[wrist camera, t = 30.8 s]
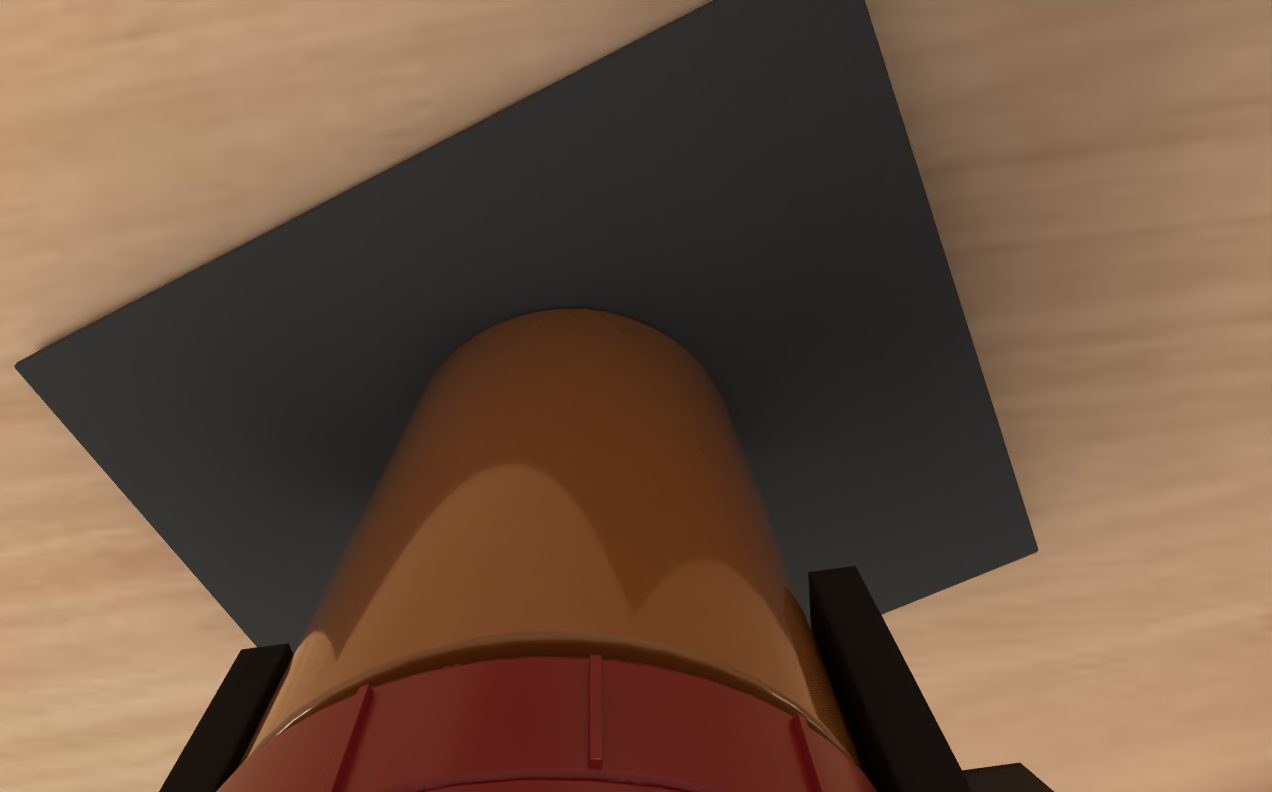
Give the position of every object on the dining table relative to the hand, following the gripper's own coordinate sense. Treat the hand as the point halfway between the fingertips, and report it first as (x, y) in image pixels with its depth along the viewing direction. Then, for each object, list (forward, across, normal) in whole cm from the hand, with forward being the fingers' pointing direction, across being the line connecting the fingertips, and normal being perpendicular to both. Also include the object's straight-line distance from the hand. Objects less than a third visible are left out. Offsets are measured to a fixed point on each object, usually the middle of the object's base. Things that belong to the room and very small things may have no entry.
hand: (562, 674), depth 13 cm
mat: (+8, 0, 0) cm, 8 cm away
